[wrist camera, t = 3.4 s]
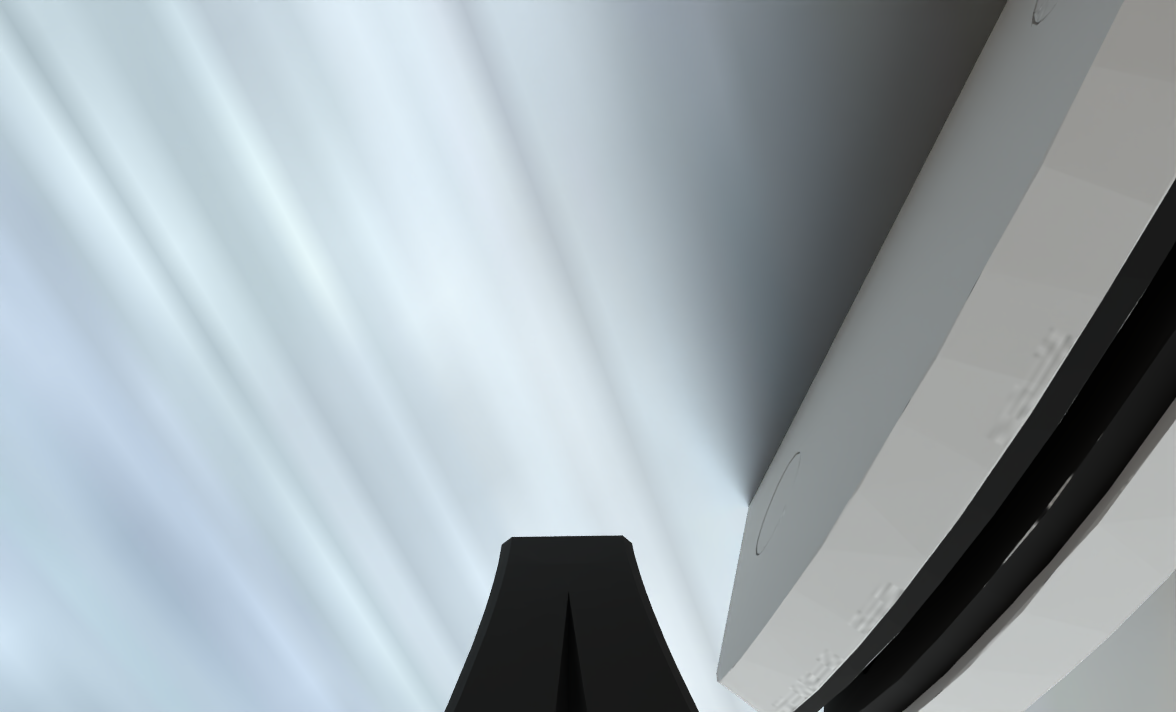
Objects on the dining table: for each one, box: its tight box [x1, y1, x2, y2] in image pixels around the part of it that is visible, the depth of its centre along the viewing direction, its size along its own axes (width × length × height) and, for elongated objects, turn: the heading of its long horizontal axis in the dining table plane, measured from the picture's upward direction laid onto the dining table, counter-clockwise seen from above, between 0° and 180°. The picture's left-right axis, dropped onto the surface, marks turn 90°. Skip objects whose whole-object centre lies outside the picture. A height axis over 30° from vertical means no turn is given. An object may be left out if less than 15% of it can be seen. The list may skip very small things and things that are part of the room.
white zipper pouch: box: [716, 0, 1176, 712], centre depth 15 cm, size 17×5×10 cm, turn 164°
